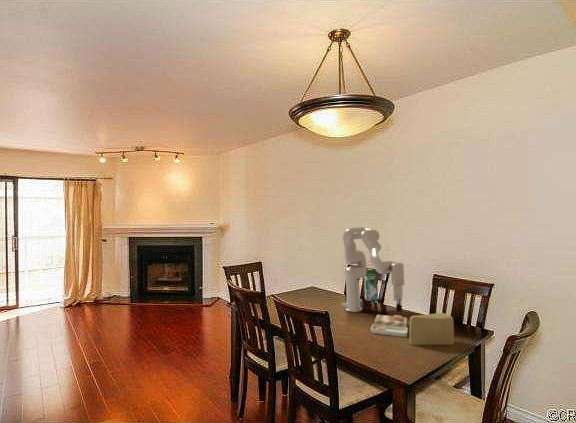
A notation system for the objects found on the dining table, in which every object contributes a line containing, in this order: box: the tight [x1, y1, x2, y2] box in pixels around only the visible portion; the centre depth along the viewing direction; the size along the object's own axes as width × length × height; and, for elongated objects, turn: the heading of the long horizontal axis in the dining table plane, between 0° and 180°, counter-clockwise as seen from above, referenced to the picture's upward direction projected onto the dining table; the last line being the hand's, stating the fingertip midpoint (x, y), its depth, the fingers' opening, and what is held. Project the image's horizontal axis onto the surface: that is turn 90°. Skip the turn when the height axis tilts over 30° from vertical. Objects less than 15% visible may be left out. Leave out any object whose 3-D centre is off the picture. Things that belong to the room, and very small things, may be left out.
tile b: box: [393, 314, 403, 321], centre depth 202 cm, size 4×4×2 cm
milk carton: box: [363, 268, 379, 302], centre depth 267 cm, size 9×9×25 cm
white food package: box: [374, 314, 408, 327], centre depth 204 cm, size 18×12×4 cm, turn 67°
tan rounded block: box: [408, 312, 455, 346], centre depth 176 cm, size 22×10×15 cm, turn 95°
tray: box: [370, 323, 409, 338], centre depth 193 cm, size 20×10×2 cm, turn 67°
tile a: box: [377, 326, 386, 331], centre depth 194 cm, size 4×4×2 cm
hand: (399, 311), depth 209 cm, fingers closed
